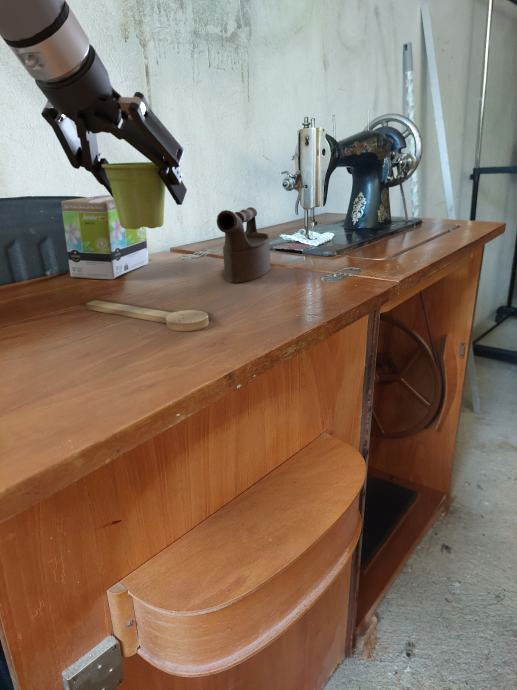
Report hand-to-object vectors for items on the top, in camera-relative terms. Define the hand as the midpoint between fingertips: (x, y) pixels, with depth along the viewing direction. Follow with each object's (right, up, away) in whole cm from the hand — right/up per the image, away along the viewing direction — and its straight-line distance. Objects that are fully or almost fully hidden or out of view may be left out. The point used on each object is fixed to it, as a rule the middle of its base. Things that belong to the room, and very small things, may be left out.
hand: (151, 196), depth 76 cm
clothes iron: (+12, -9, +24) cm, 28 cm away
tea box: (-15, -7, +31) cm, 35 cm away
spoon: (-1, -18, +1) cm, 18 cm away
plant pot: (-1, -5, -1) cm, 5 cm away
